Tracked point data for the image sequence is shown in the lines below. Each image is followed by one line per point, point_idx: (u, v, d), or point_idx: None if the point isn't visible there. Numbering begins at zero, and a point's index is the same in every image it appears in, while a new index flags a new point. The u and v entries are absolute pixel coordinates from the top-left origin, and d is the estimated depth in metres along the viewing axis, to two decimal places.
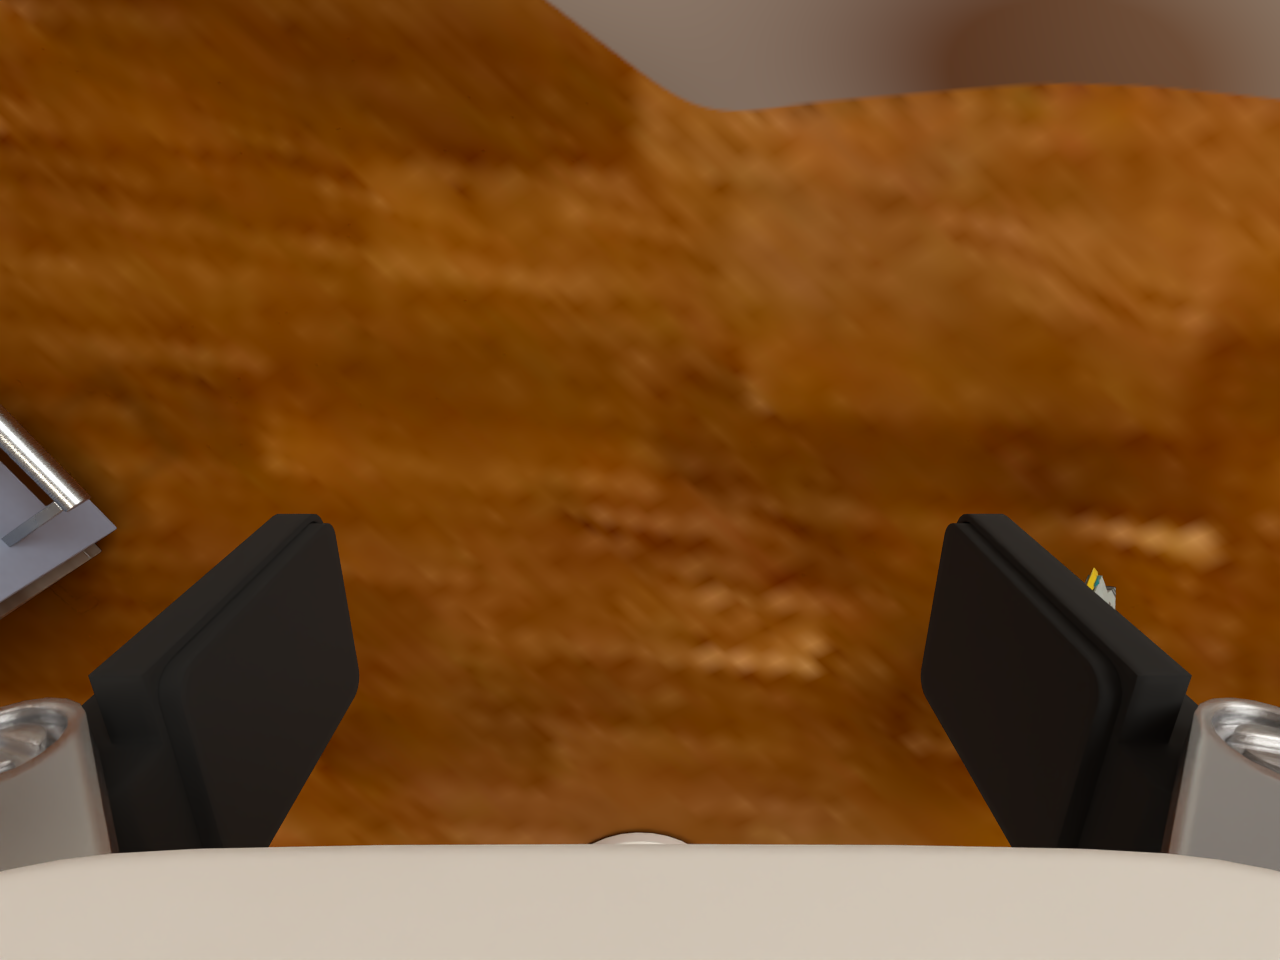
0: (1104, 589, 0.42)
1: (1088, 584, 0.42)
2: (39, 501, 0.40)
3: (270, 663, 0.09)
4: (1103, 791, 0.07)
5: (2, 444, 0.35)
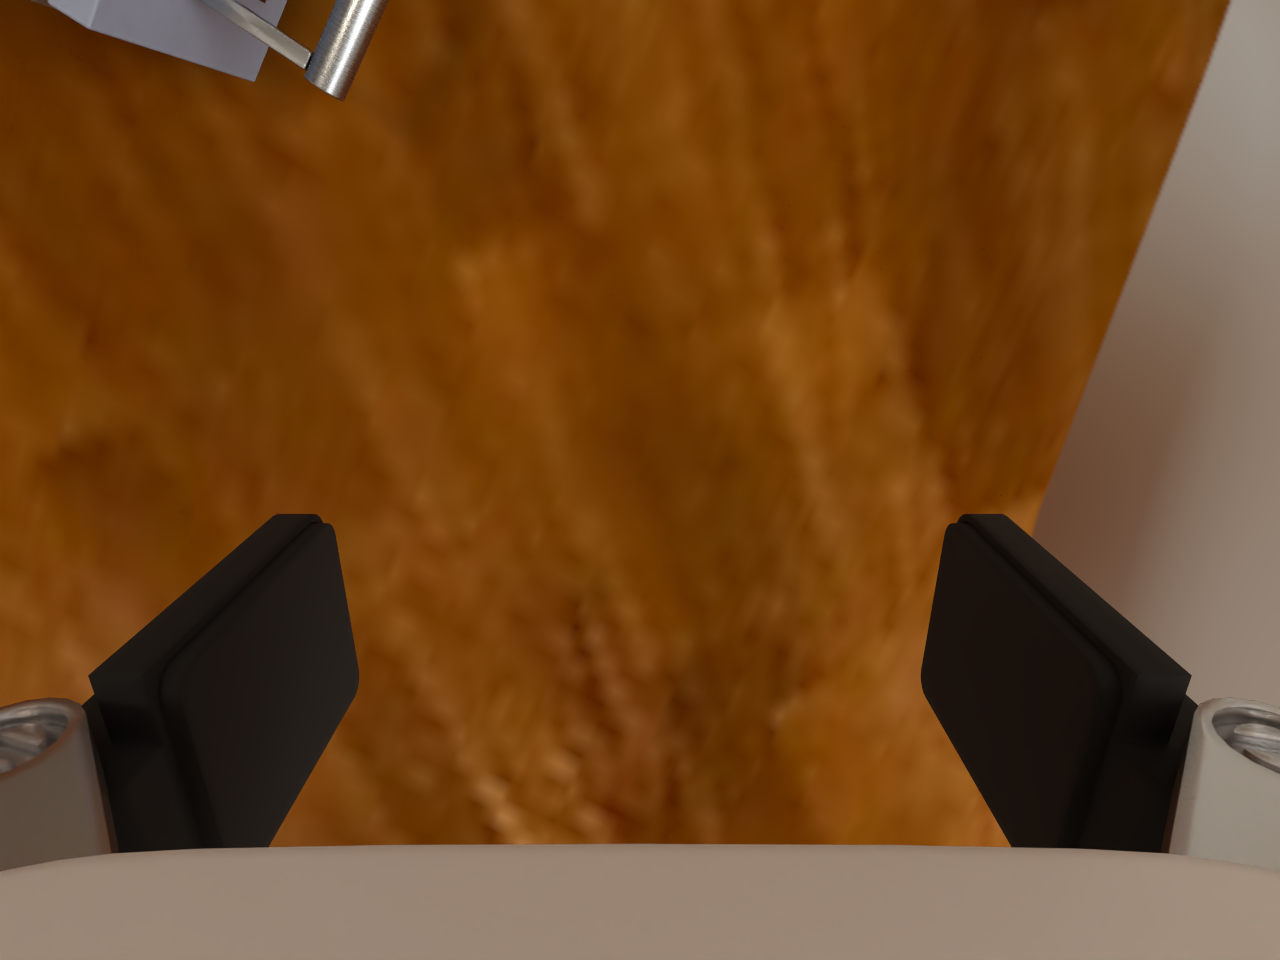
0: None
1: None
2: None
3: (270, 663, 0.09)
4: (1103, 791, 0.07)
5: None
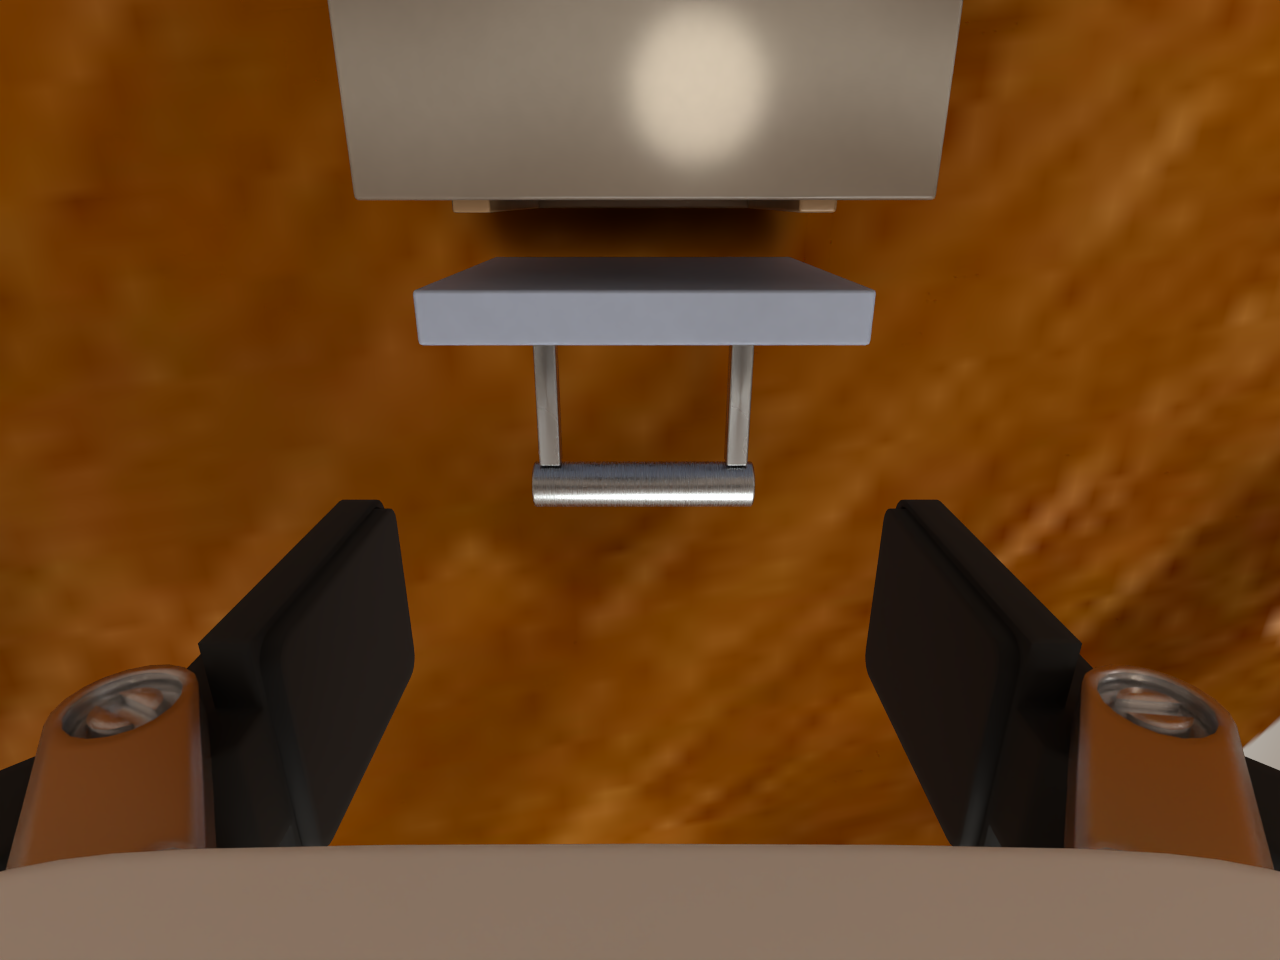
0: None
1: None
2: None
3: (347, 638, 0.09)
4: (1006, 754, 0.08)
5: (679, 490, 0.20)
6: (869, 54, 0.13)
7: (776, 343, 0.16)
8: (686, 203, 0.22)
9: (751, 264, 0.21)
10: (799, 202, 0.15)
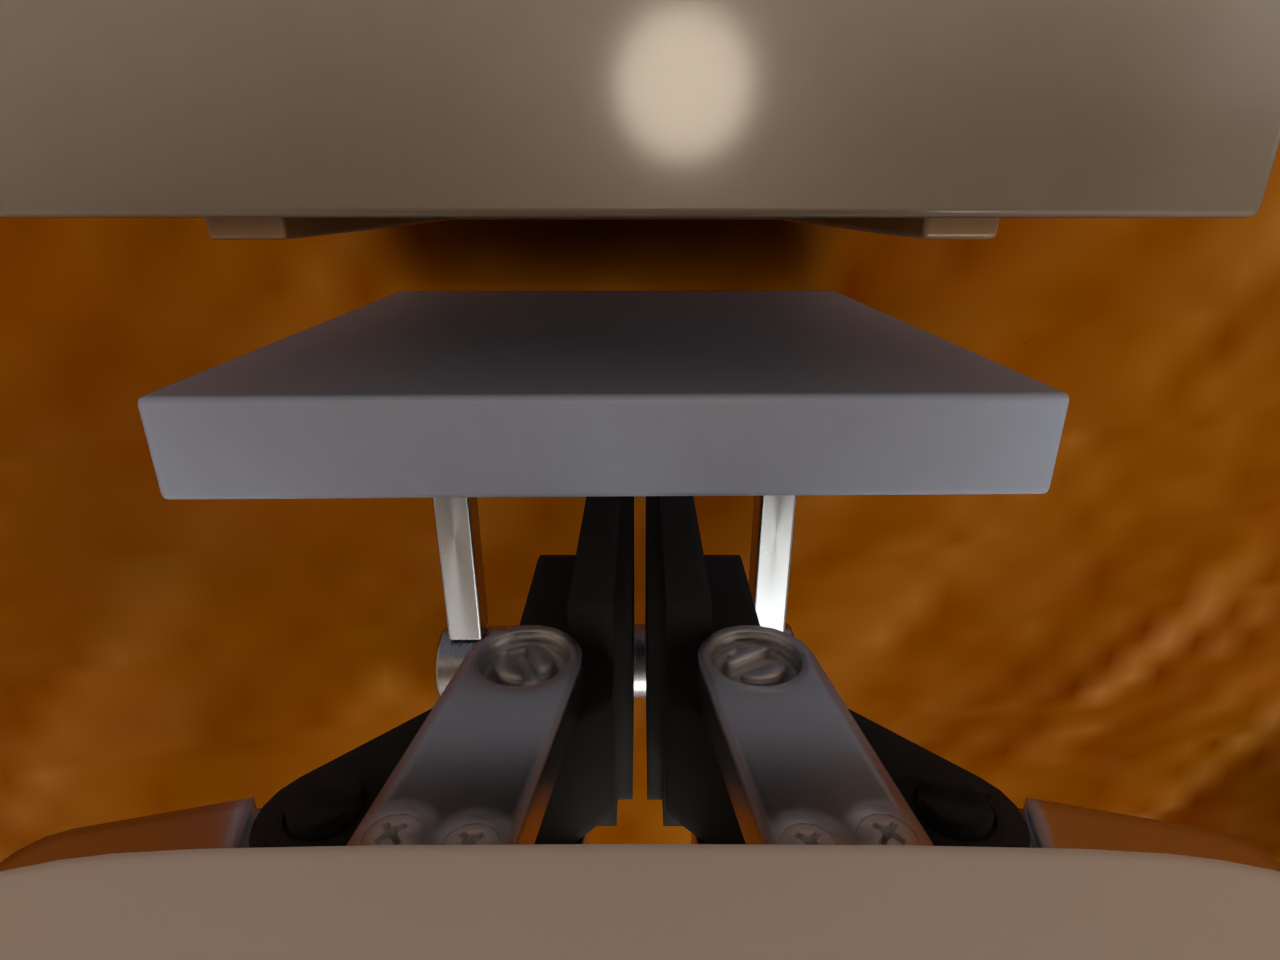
0: None
1: None
2: None
3: None
4: (665, 709, 0.08)
5: None
6: None
7: (868, 493, 0.08)
8: None
9: (786, 309, 0.14)
10: (924, 219, 0.07)
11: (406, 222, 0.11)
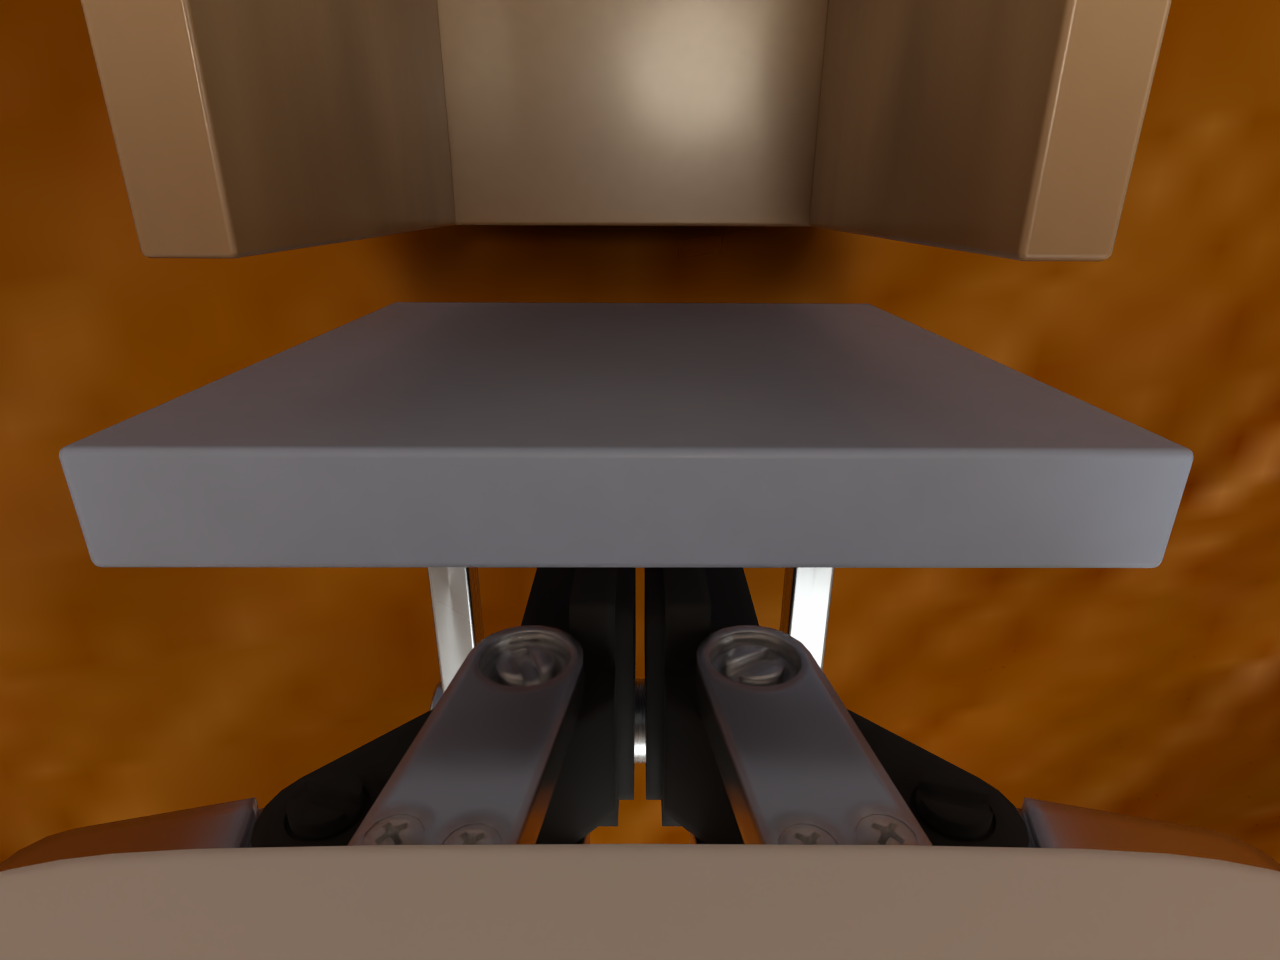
0: None
1: None
2: None
3: None
4: (664, 709, 0.08)
5: None
6: None
7: (941, 565, 0.07)
8: (706, 218, 0.13)
9: (821, 327, 0.12)
10: (1021, 236, 0.06)
11: (396, 230, 0.10)
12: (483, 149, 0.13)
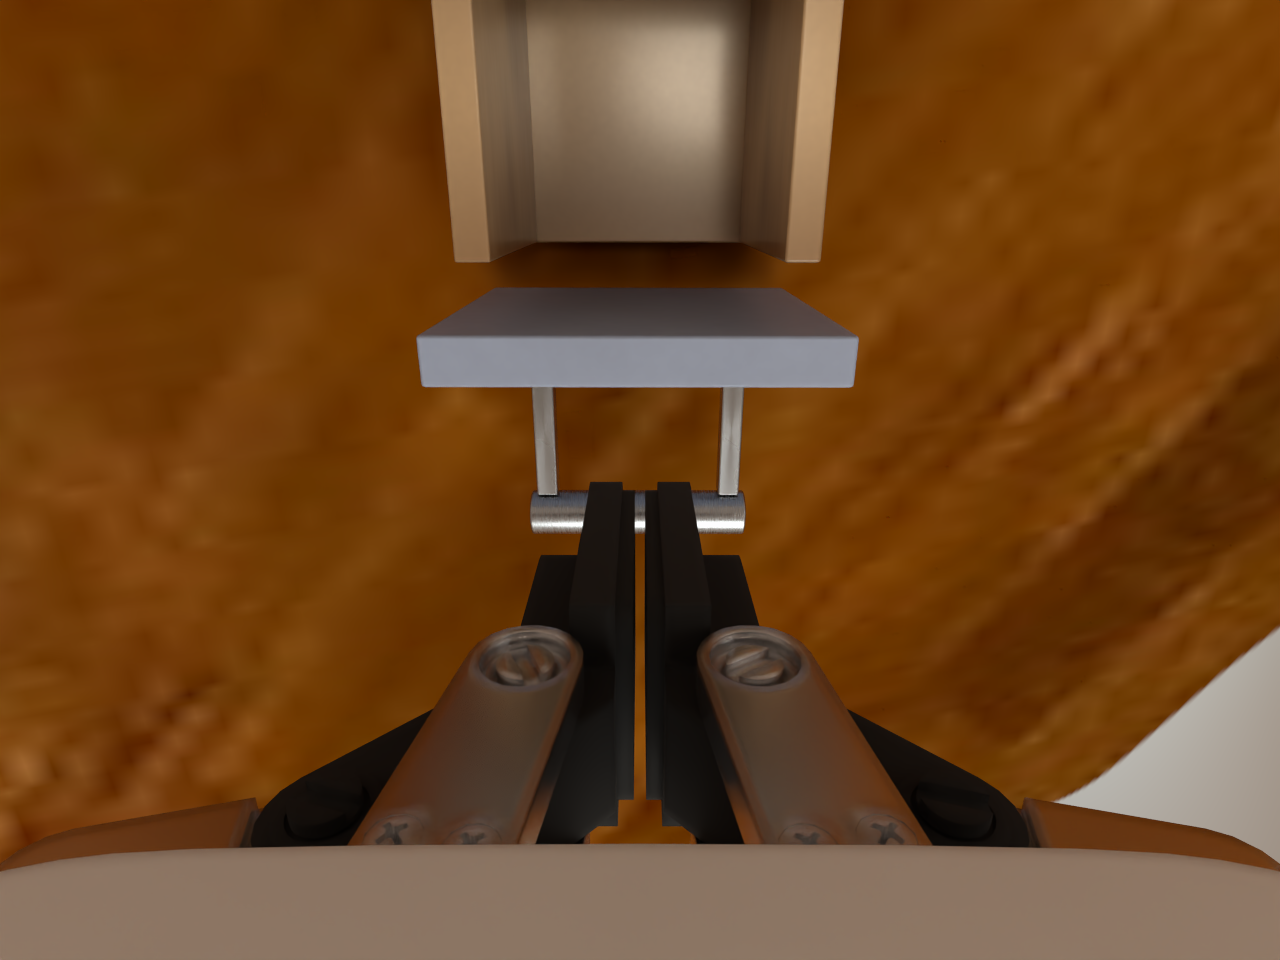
0: None
1: None
2: None
3: None
4: (664, 709, 0.08)
5: None
6: None
7: (764, 386, 0.16)
8: (680, 238, 0.23)
9: (742, 299, 0.22)
10: (785, 253, 0.16)
11: (520, 247, 0.20)
12: (554, 200, 0.23)
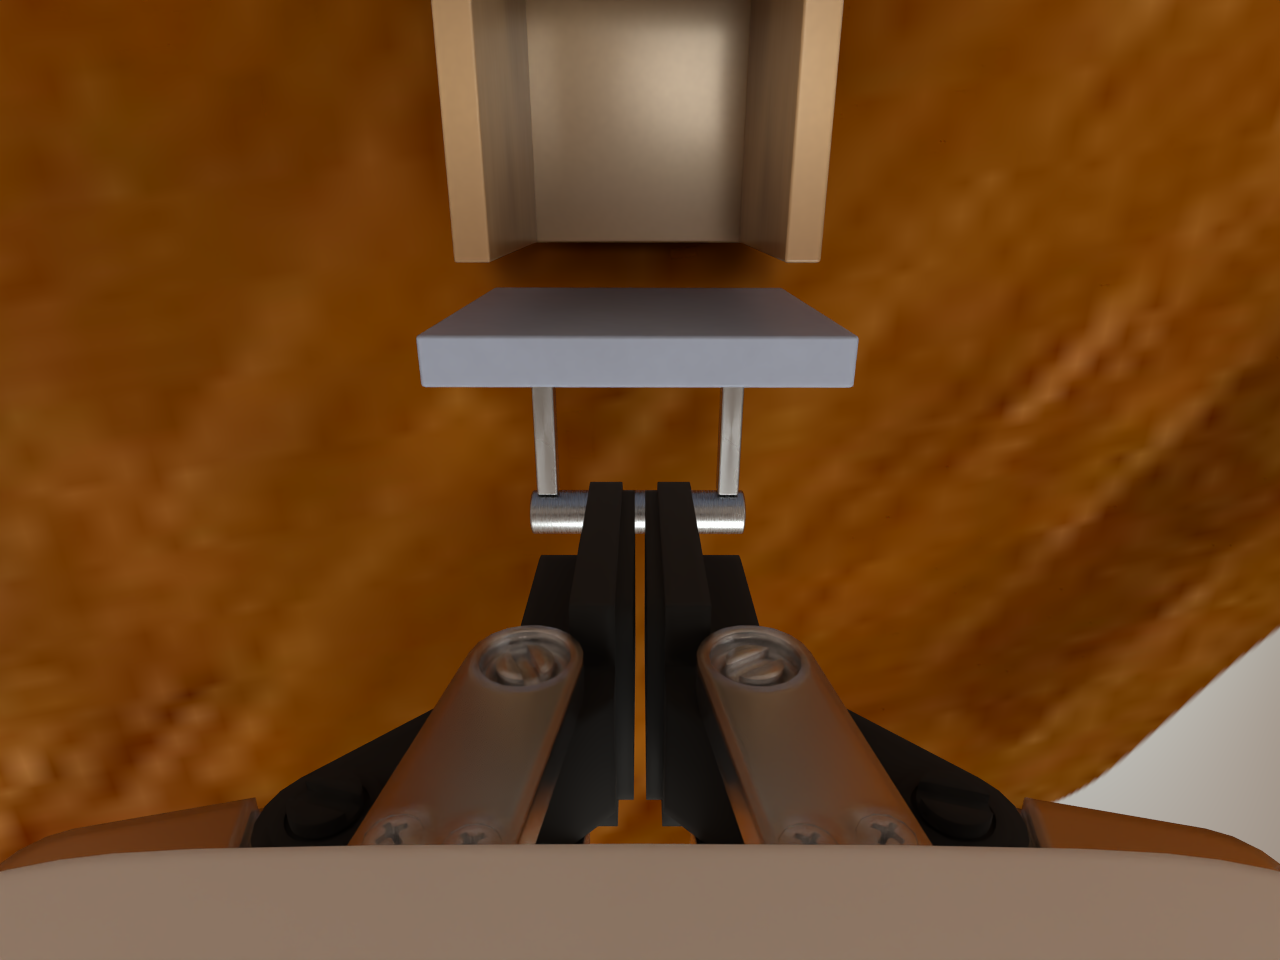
0: None
1: None
2: None
3: None
4: (664, 709, 0.08)
5: None
6: None
7: (763, 385, 0.16)
8: (680, 238, 0.23)
9: (742, 299, 0.22)
10: (785, 253, 0.16)
11: (520, 247, 0.20)
12: (554, 200, 0.23)
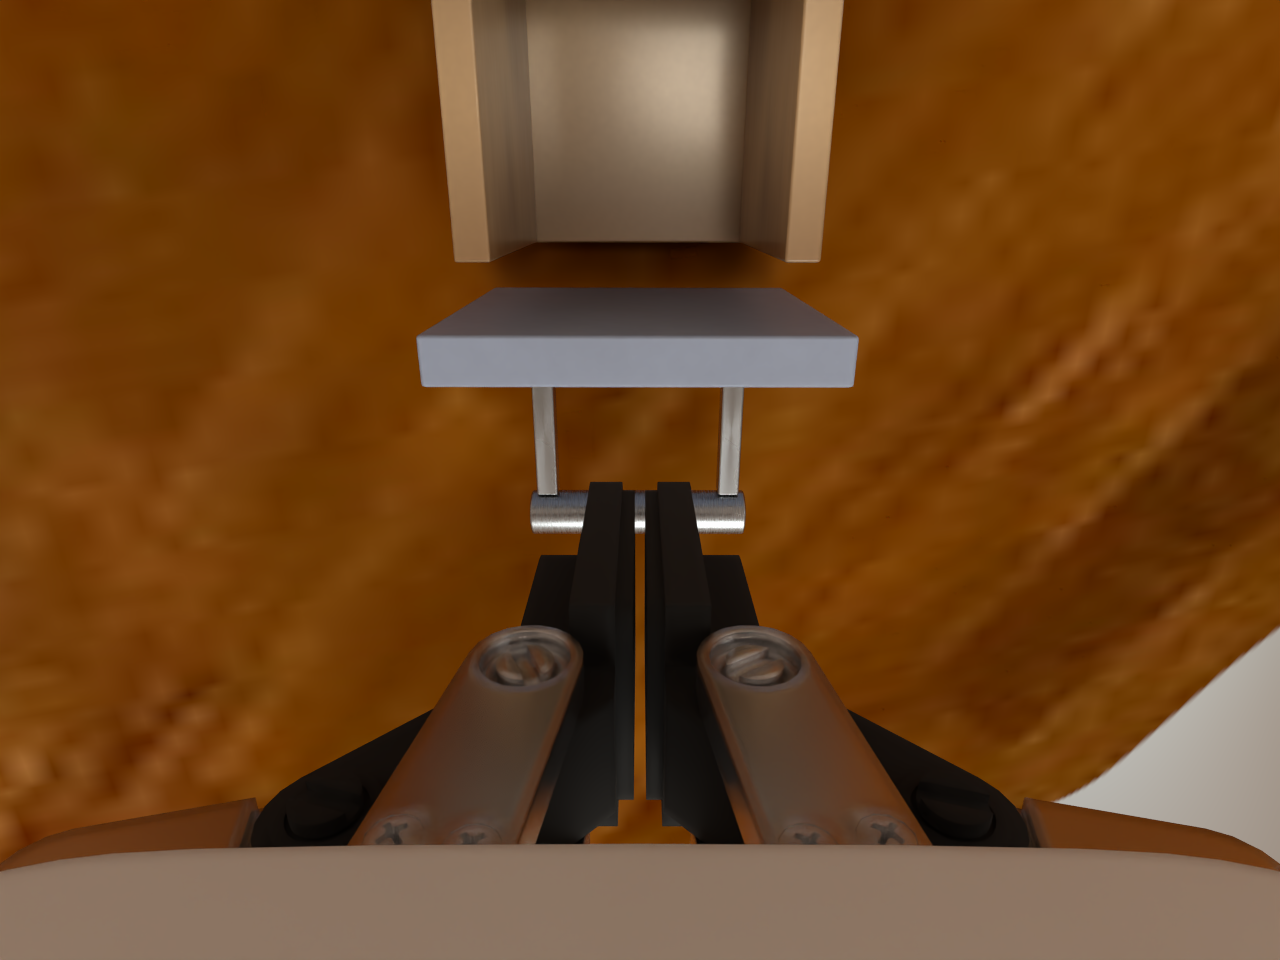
0: None
1: None
2: None
3: None
4: (664, 709, 0.08)
5: None
6: None
7: (764, 385, 0.16)
8: (680, 238, 0.23)
9: (742, 299, 0.22)
10: (785, 253, 0.16)
11: (520, 247, 0.20)
12: (554, 199, 0.23)
